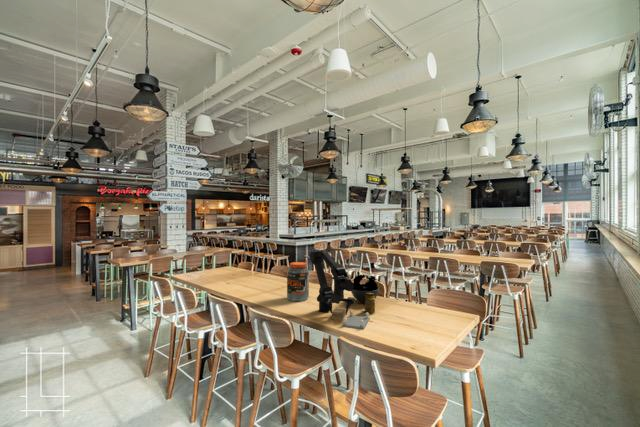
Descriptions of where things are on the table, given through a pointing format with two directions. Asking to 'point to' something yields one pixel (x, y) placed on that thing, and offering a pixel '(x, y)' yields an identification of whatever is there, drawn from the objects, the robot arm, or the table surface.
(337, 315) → the block
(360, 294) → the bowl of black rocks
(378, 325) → the table surface
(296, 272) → the supplement tub
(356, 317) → the chassis
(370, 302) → the condiment
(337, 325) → the table surface
